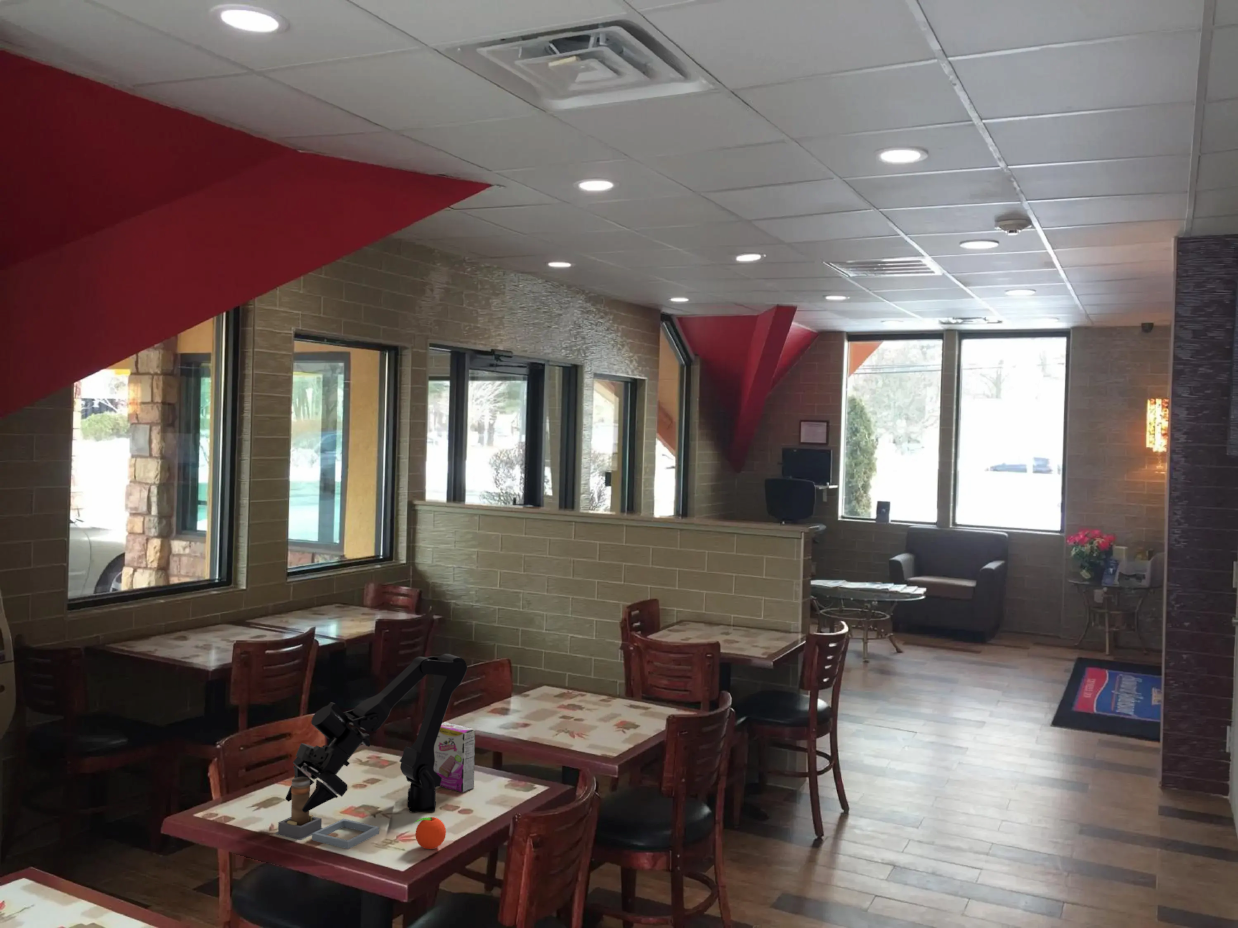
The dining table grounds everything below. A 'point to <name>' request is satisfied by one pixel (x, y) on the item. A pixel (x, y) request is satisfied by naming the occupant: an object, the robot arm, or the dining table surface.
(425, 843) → the clementine
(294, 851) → the dining table surface
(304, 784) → the peg
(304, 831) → the socket block
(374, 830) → the tray
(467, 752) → the candy bar box
